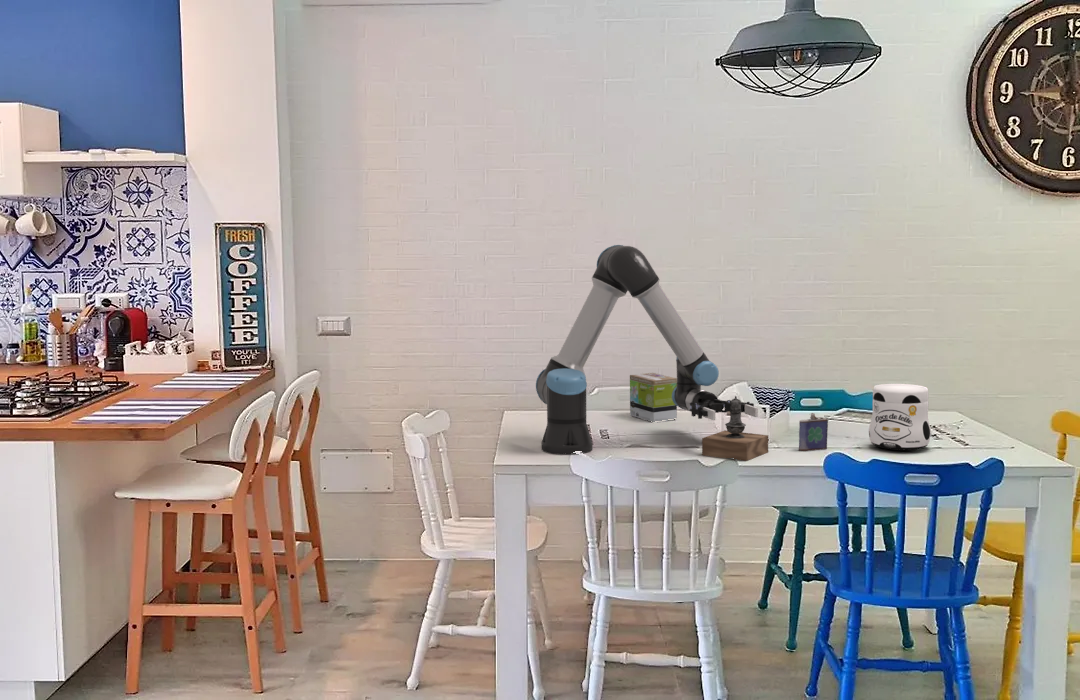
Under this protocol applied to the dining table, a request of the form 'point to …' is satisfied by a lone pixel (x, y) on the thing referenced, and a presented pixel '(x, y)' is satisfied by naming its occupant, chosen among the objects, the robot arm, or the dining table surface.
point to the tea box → (652, 397)
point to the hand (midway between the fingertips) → (735, 414)
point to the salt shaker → (735, 420)
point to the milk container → (900, 417)
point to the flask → (813, 433)
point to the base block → (735, 446)
